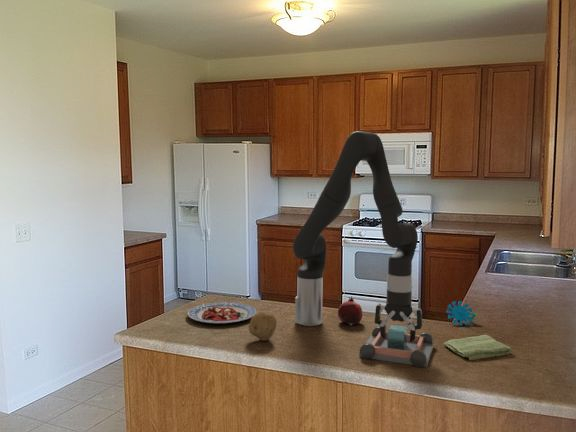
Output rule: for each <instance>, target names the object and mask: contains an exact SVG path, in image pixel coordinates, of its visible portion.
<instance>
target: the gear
mask: <svg viewBox="0 0 576 432" xmlns="http://www.w3.org/2000/svg"><path fill="white" fill-rule="evenodd" d="M456 304H458V305H456ZM462 304H463V301H461V300H459V301H458V302H457V301H455V300H454V301H452V302H451V303H450V304H449V303H448V305H447V309H446V312H445V313H446V314H448V315H447V318H448V320H450V319H452V320H451V321H452V323H453V325H455V324H456V323H457V322H458V321H459V322H458V324H457V325H458V326H460V327H462V326H463V322H464V326H469V325H470V323H472V322H474V319H475V318H477V316H478V313H477V312H475V313H472V312H473V310H474V309H473V307H469V304H468V303H467V302H466V303H464V305H462ZM461 305H462V306H461ZM452 306H453V307H452ZM468 307H469V308H468Z"/></svg>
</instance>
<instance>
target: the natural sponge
mask: <svg viewBox="0 0 576 432" xmlns="http://www.w3.org/2000/svg"><path fill="white" fill-rule="evenodd" d="M277 323H278V322H277V318H276V317H275V315H274V314H273V313H271V312H270V311H266V310H260V311H258V312H256V314H255V315H254V316H253V317H251V318H250V321H249V324H248V331H249V333H250V335H252V336H254V337H256V338H258V339H259V340H260V341H262V342H267V341H268V340H269V339H271V338H272V337H273V336H274V333H275V331H276V328H277Z"/></svg>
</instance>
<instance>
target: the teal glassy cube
mask: <svg viewBox="0 0 576 432" xmlns="http://www.w3.org/2000/svg"><path fill="white" fill-rule="evenodd" d="M387 331H388V342H387V348H392V349H399V350H405V348H406V346H407V334H408V326H404V325H396V324H394V325H393V324H391V325H389V328H388V329H387Z"/></svg>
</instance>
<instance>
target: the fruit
mask: <svg viewBox="0 0 576 432" xmlns="http://www.w3.org/2000/svg"><path fill="white" fill-rule="evenodd" d="M354 300H355V299H354V298H353V296H352V295H351V297H349V298H348V299H347V301H344V302H342V303H341V304H340V306H339V308H338V309H337V316H338V319H339V320H340V321H341V322H343V323H345V324H347V325H350V326H351V327H353V325H357V324H359V323H360V322H361V321H362V319H363V309H362V306H361V305H360V304H359V303H358V302H356V301H354Z"/></svg>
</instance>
